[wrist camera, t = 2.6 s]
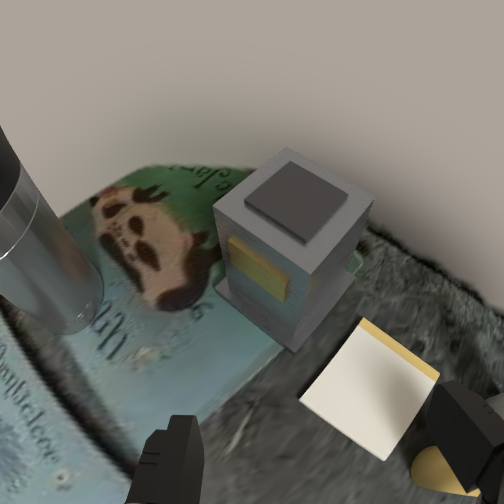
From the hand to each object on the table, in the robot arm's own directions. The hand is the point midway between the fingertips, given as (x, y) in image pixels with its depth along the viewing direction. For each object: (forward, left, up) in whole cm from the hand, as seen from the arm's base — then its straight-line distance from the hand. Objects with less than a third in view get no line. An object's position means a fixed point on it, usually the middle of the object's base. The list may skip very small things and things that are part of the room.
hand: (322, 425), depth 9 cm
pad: (+4, +8, -19) cm, 21 cm away
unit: (-9, +11, -19) cm, 23 cm away
